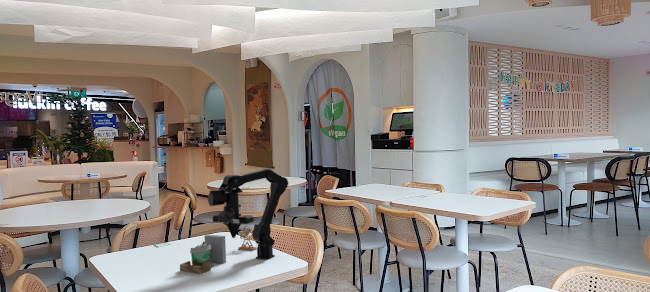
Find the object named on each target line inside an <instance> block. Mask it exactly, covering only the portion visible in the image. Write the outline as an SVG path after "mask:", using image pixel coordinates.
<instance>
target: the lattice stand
mask: <svg viewBox="0 0 650 292" xmlns="http://www.w3.org/2000/svg"><path fill="white" fill-rule="evenodd" d="M252 231H253V229H251V227H249V226H248V225H245V226H243V232H241V233H240V236H239V237H240V239H241V240H243V243H242V244H241V246H239V247H238V249H237V250H240V251H247V252H253V251H255V250H256V251H257V247H255V246H254V245H253V244H252V243H253V242H251V237H252V234H253V233H252ZM243 234H244V235H243ZM249 234H251V235H249ZM248 241H249V242H248Z"/></svg>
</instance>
